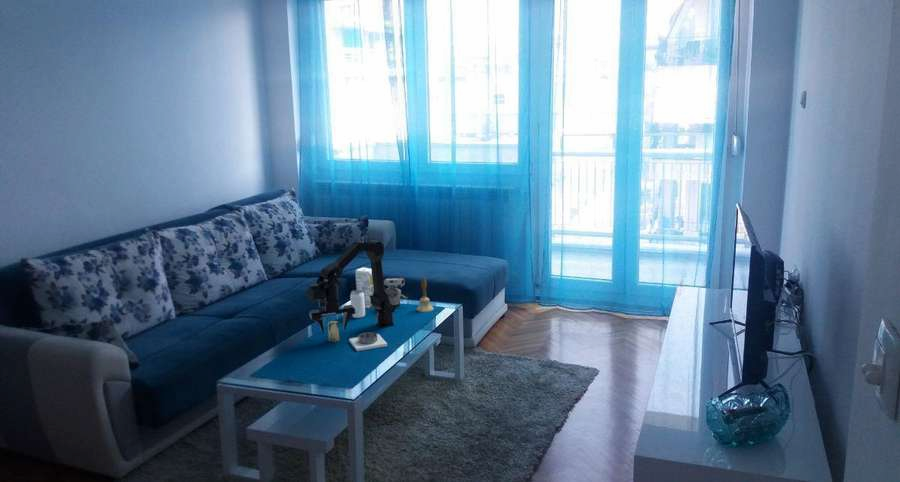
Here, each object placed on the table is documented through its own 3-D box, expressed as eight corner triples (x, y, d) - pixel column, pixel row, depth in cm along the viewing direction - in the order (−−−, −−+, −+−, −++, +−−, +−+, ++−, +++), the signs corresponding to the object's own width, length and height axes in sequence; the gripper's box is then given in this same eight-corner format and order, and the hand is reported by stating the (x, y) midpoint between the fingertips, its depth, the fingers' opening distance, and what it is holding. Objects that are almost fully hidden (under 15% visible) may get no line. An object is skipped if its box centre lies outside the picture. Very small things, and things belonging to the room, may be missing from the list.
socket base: (378, 336, 300) (378, 334, 300) (387, 346, 288) (387, 343, 288) (349, 341, 295) (349, 338, 295) (356, 351, 284) (356, 348, 283)
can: (366, 314, 332) (365, 290, 330) (363, 318, 326) (362, 293, 324) (353, 314, 333) (351, 290, 331) (350, 318, 327) (348, 293, 324)
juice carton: (368, 309, 340) (366, 271, 336) (355, 306, 344) (353, 269, 340) (378, 305, 346) (376, 268, 342) (365, 302, 351) (363, 266, 347)
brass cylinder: (338, 337, 300) (336, 320, 299) (340, 341, 296) (339, 323, 295) (328, 339, 299) (326, 321, 297) (330, 342, 295) (329, 324, 293)
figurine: (401, 311, 334) (399, 281, 331) (381, 309, 339) (379, 279, 336) (410, 306, 342) (409, 277, 339) (390, 304, 347) (389, 275, 344)
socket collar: (374, 336, 296) (373, 331, 296) (379, 342, 290) (378, 337, 289) (356, 339, 294) (356, 334, 293) (361, 345, 287) (361, 339, 286)
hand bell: (433, 311, 332) (432, 279, 329) (416, 312, 333) (414, 280, 329) (433, 306, 340) (432, 275, 337) (417, 307, 341) (415, 275, 337)
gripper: (348, 289, 304) (350, 322, 308) (305, 294, 298) (308, 329, 301) (354, 295, 294) (356, 330, 297) (310, 301, 287) (313, 337, 291)
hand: (333, 331), depth 297 cm, fingers open, 9 cm apart
